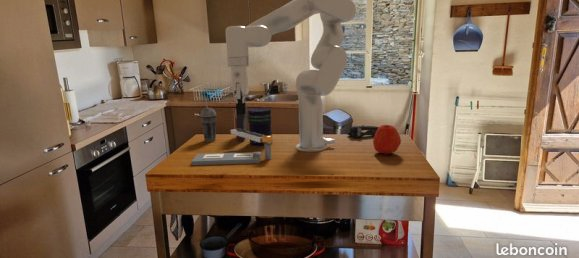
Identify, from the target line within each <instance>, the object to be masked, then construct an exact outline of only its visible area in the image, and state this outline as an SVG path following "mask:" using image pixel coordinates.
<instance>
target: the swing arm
mask: <svg viewBox="0 0 579 258" xmlns="http://www.w3.org/2000/svg"><path fill="white" fill-rule="evenodd" d="M230 134H231V135H234V136H236V135H237V136H240V137H244V138H246V139H247V140H249V141H250V140H253V141H257V142H263V143H264V144H270V143H272V144H273V135H272V136H270V135H266V136H265V135H261V134H258V133H254V132H250V130H248V129H247V130H243V129H240V128H238V129H236V128H234V129H230Z"/></svg>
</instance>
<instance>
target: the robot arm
mask: <svg viewBox="0 0 579 258" xmlns="http://www.w3.org/2000/svg"><path fill="white" fill-rule="evenodd" d="M316 14H319V17H320V20H321V23H322V27H323V31H322V35H321V37H320V39H319V41H318V43H317V45H316V47H315V49H314V50H313V52H312V54H311V57H310V64H311V66H312V67H313V68H314V69H305V70H302V71H300V72H299V74H298V75H296V79H295V88H296V93H297V99H298V129H299V130H298V131H299V134H298V135H299V143H297V144H296V145H295V149H296V150H298V151H301V152H320V151H324V150H326V149H328V146H327V145H328V144H329V145H335V144H336V141H335V138H325V137H324V122H323V121H324V117H323V115H324V112H323V110H324V109H323V108H324V107H323V105H324V104H323V99H322V97H326V96H329V95H330V94H331V93H332V92H333V91H334V89H335V88H336V86H337V84H338V82H339V81H340V80H341V79H340V78H341V77H342V75H343V73H344V71H345V69H346V66H347V63H348V55H347V54H348V53H347V51H346V50H345V49H344V47H342V44H343V41H344V35H345V34H344V30H343V27H342V23H348V22H350V21H352V20H354V17H355V16H356V14H357V8H356V4H355V2H354V1H353V0H291V1H289V2H288V3H286V4H284V5H282V6H280V7H279V8H277V9H275V10H273V11H271V12H270V13H267V14H265V15H264V16H262V17H260V18H258V19H256V20H255V21H253V22H251V23H250V24H248V25H246V26H244V25H230V26H227V27H226V29H225V42H226V43H225V44H226V45H225V46H226V59H227V60H226V62H227V68H230V73H231V74H230V76H231V91H232V95H233V96H235V109H236V113H237V115H243V114H246V106H245V105H246V98H245V96H247V95H248V94H249V93H250V91H249V80H248V79H249V76H248V68H247V67H250V57H249V56H250V55H249V48H264V47H265V46H267V45H269V44H270V42H271V40H272V36H273V35H275V34H278V33H282V32H285V31H289V30H291V29H293V28H295V27H296V26H298V25H299V24H301V23H302V22H305V21H306V20H308V19H309V18H311V17H312V16H314V15H316ZM236 113H235V114H236ZM246 115H247V114H246Z"/></svg>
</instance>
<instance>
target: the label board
mask: <svg viewBox="0 0 579 258" xmlns="http://www.w3.org/2000/svg"><path fill="white" fill-rule="evenodd" d="M261 157H262V152H261V151H246V152H241V151H240V152H218V153H215V152H213V153H197V154H196V155H195V156H194V157H193V159H192V160H191V166H209V165H210V166H213V165H214V166H215V165H240V164H241V165H243V164H244V165H245V164H247V165H248V164H260V162H261ZM264 160H266V161H271V160H272V144H271V143H270V144H264Z"/></svg>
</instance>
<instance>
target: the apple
mask: <svg viewBox="0 0 579 258" xmlns="http://www.w3.org/2000/svg"><path fill="white" fill-rule="evenodd" d="M378 127H379V128H378V129H377V130H375V132H376V133H375V136H374V137H373V141H372V143H373V148H374V150H375V152H378V153H380V154H393V153H395V152H397V150H398V149H399V148H400V146H401V143H402V139H401V136H400V134H399V131H398V129H397V128H396V127H395V126H394V125H390V124H383V125H380V126H378Z"/></svg>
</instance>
